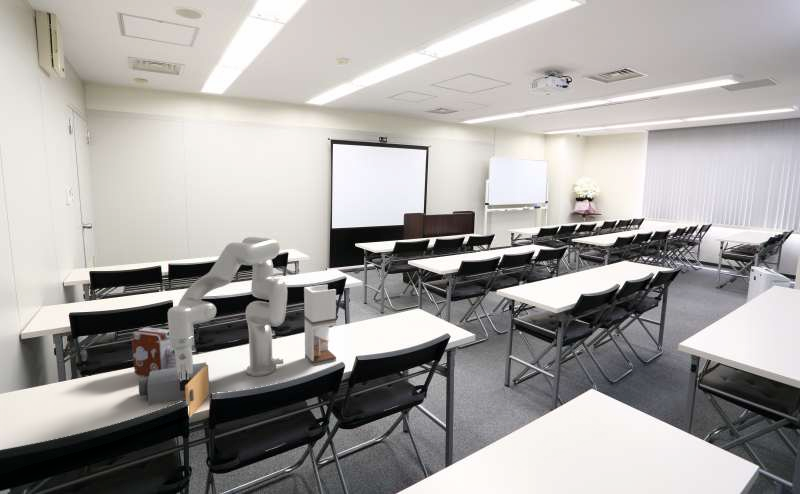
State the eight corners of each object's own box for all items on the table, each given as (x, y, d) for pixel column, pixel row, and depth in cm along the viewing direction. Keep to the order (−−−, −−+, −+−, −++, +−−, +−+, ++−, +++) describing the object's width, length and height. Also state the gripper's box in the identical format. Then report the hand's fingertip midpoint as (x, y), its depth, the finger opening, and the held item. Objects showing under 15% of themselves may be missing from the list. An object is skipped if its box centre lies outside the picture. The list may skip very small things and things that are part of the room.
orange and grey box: (206, 380, 168) (206, 362, 166) (208, 393, 157) (207, 374, 156) (142, 391, 157) (140, 372, 156) (139, 407, 147) (137, 386, 145)
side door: (207, 393, 157) (205, 364, 155) (212, 393, 157) (210, 364, 155) (187, 417, 140) (185, 385, 138) (192, 417, 140) (190, 385, 139)
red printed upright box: (170, 382, 165) (167, 336, 162) (131, 376, 169) (127, 331, 166) (186, 372, 174) (184, 328, 171) (149, 367, 178) (145, 324, 175)
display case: (312, 366, 183) (312, 292, 177) (305, 357, 192) (304, 287, 186) (335, 360, 189) (335, 289, 184) (327, 352, 198) (327, 284, 192)
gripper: (194, 346, 135) (197, 397, 138) (194, 332, 148) (196, 378, 151) (168, 350, 131) (172, 402, 134) (170, 335, 145) (174, 382, 147)
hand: (185, 389), depth 143 cm, fingers closed
